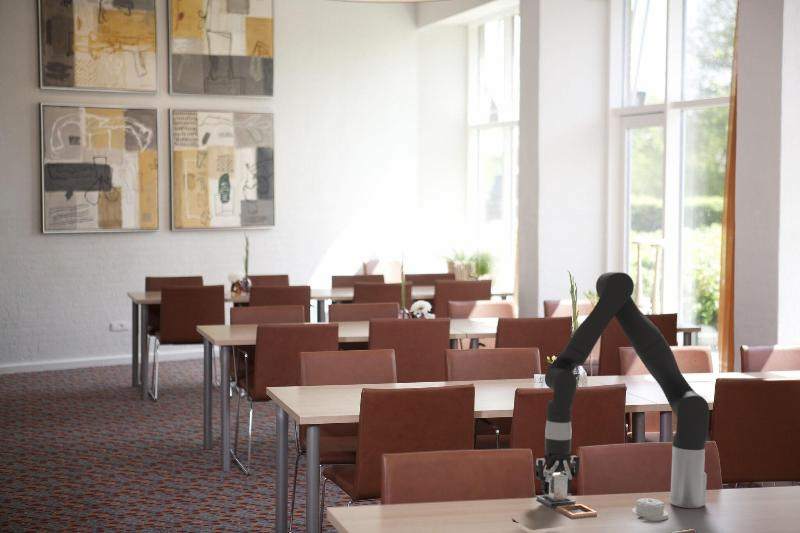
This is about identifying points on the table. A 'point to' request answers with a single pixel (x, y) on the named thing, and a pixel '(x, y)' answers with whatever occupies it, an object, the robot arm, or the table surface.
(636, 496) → the table surface
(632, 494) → the table surface
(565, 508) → the double frame tray
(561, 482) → the block
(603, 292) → the robot arm
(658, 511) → the mechanical component
